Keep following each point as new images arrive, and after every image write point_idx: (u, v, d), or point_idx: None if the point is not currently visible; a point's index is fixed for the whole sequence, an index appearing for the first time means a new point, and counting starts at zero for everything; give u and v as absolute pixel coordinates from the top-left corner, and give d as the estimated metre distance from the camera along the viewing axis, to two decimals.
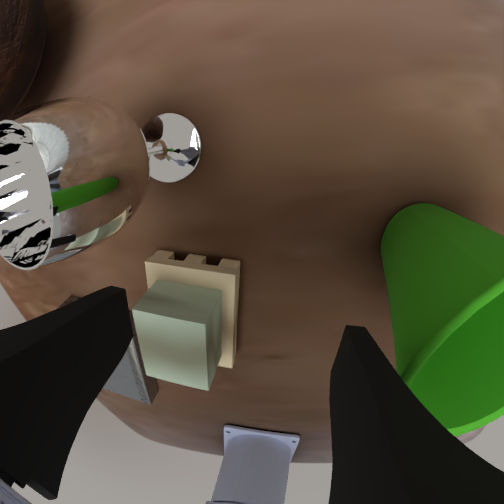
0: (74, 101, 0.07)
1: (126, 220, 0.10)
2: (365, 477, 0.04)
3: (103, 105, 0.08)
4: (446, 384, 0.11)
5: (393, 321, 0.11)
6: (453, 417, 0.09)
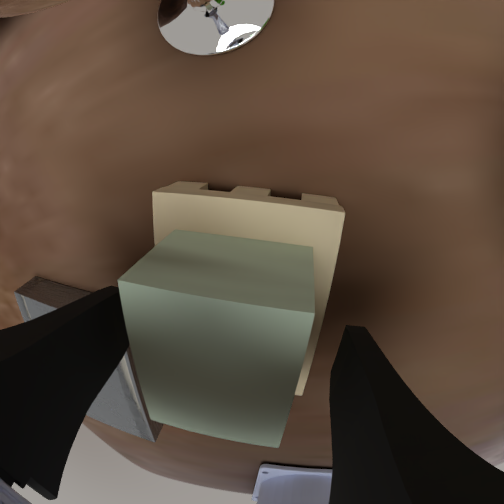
0: None
1: None
2: (365, 477, 0.04)
3: None
4: None
5: None
6: None
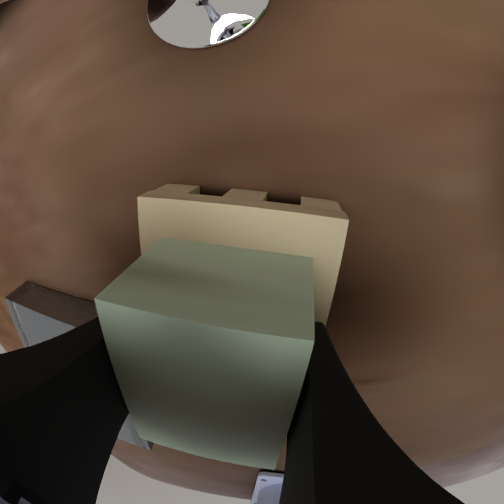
0: None
1: None
2: (298, 475, 0.04)
3: None
4: None
5: None
6: None
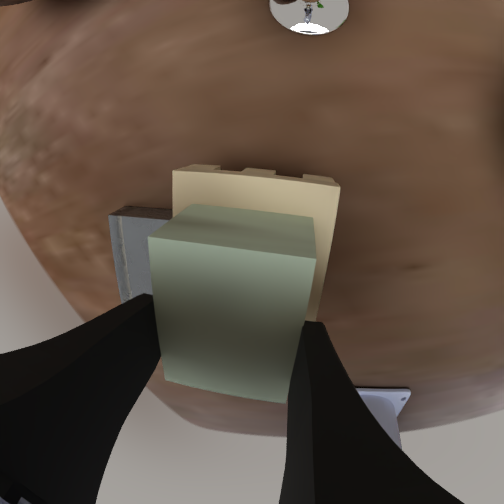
0: None
1: None
2: (297, 475, 0.04)
3: None
4: None
5: None
6: None
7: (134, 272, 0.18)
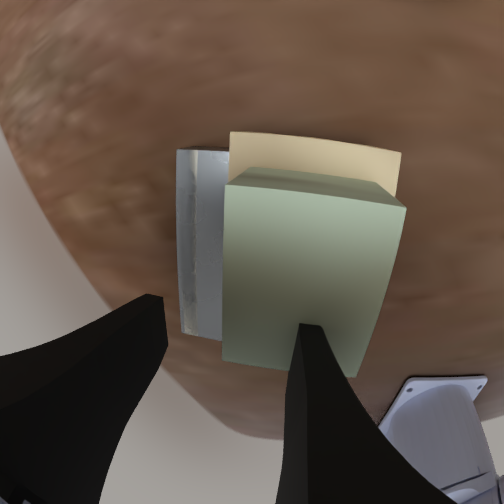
0: None
1: None
2: (293, 475, 0.04)
3: None
4: None
5: None
6: None
7: (206, 231, 0.14)
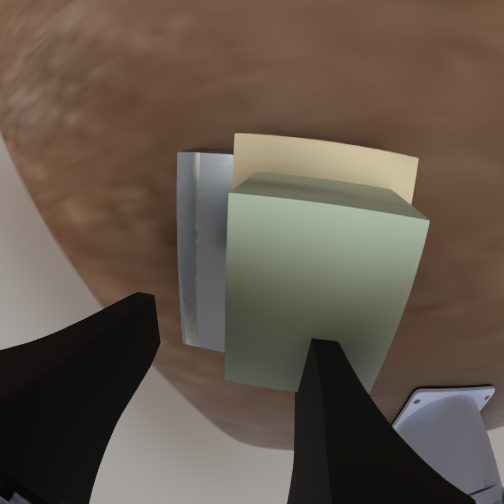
0: None
1: None
2: (309, 476, 0.04)
3: None
4: None
5: None
6: None
7: (208, 239, 0.13)
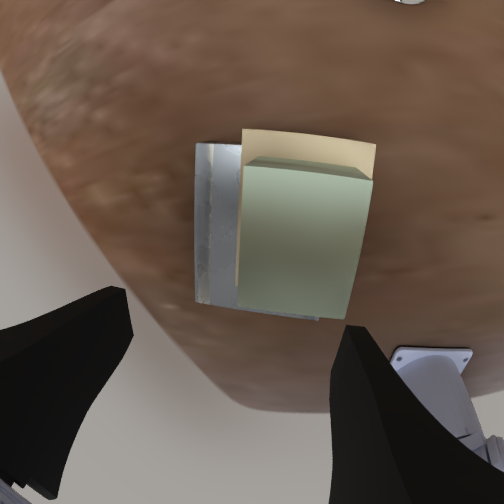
0: None
1: None
2: (365, 477, 0.04)
3: None
4: None
5: None
6: None
7: (219, 210, 0.16)
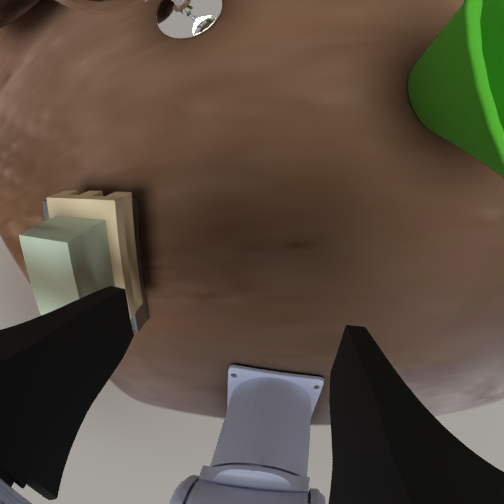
0: None
1: None
2: (365, 477, 0.04)
3: None
4: None
5: (438, 68, 0.07)
6: None
7: None
